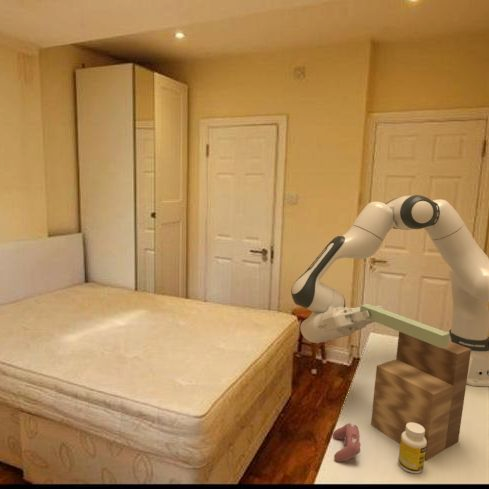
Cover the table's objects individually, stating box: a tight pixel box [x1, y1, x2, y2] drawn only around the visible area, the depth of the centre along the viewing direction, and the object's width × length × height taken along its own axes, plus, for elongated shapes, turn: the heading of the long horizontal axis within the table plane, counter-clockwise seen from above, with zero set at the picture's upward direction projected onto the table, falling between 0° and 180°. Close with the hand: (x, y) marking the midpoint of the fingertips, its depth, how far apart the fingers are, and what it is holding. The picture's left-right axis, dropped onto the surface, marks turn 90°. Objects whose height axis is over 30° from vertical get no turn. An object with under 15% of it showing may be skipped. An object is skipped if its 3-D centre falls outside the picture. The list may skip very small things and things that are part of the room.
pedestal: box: [370, 331, 471, 462], centre depth 102 cm, size 16×14×25 cm
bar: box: [359, 303, 450, 348], centre depth 102 cm, size 24×3×3 cm, turn 33°
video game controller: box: [332, 422, 361, 463], centre depth 96 cm, size 10×5×7 cm, turn 170°
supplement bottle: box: [397, 422, 427, 474], centre depth 91 cm, size 5×5×10 cm
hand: (374, 312), depth 109 cm, fingers closed on bar, 3 cm apart
